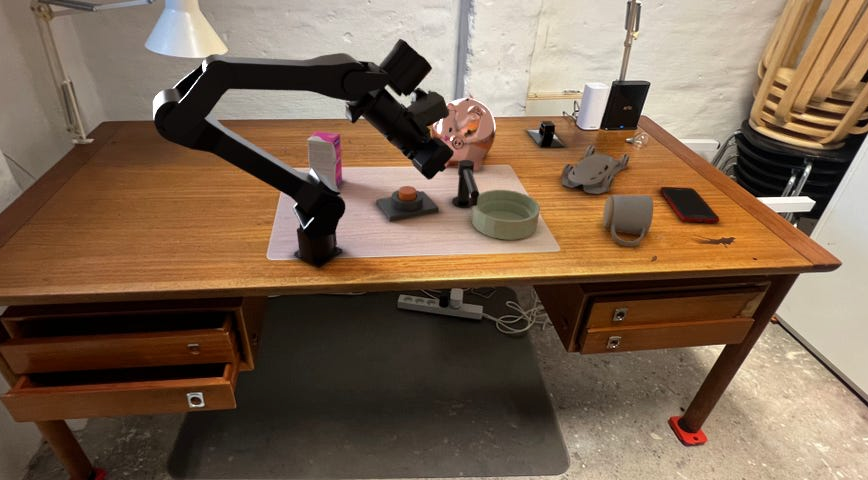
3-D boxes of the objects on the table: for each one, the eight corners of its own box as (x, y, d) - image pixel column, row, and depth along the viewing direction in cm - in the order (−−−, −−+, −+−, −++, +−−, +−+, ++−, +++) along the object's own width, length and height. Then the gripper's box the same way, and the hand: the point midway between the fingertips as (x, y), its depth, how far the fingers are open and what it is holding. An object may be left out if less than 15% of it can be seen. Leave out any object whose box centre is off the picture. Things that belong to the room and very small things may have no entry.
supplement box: (335, 191, 113) (331, 142, 107) (310, 188, 114) (305, 140, 108) (343, 180, 118) (340, 133, 111) (319, 177, 119) (315, 130, 112)
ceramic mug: (599, 218, 107) (608, 185, 102) (639, 222, 106) (650, 189, 101) (605, 246, 98) (615, 211, 94) (649, 250, 97) (661, 216, 93)
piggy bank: (423, 172, 123) (426, 106, 113) (438, 144, 137) (442, 84, 128) (486, 180, 120) (494, 114, 111) (495, 151, 134) (503, 90, 125)
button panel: (389, 221, 103) (389, 209, 102) (376, 204, 109) (376, 191, 108) (438, 212, 107) (439, 199, 105) (422, 195, 113) (423, 183, 111)
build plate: (526, 131, 147) (529, 115, 145) (550, 131, 148) (553, 115, 145) (540, 148, 137) (543, 131, 134) (565, 147, 138) (569, 130, 135)
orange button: (402, 202, 105) (402, 195, 104) (396, 195, 107) (396, 187, 106) (418, 199, 106) (418, 192, 105) (411, 192, 109) (411, 184, 108)
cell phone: (682, 222, 106) (683, 218, 106) (658, 190, 118) (659, 186, 118) (719, 224, 106) (721, 219, 105) (691, 191, 118) (693, 187, 117)
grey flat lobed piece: (629, 166, 129) (635, 147, 126) (599, 202, 113) (604, 182, 110) (587, 155, 134) (591, 137, 131) (551, 188, 118) (556, 168, 115)
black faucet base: (466, 210, 108) (469, 182, 104) (447, 204, 110) (449, 176, 106) (477, 202, 111) (480, 174, 108) (458, 195, 113) (461, 168, 110)
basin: (519, 249, 96) (522, 229, 94) (459, 227, 102) (461, 208, 100) (546, 221, 105) (550, 201, 103) (489, 202, 111) (492, 184, 109)
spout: (456, 174, 108) (457, 159, 106) (471, 174, 109) (472, 159, 107) (465, 206, 97) (467, 190, 95) (482, 206, 97) (484, 190, 95)
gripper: (447, 95, 76) (500, 155, 86) (399, 64, 89) (450, 119, 100) (397, 152, 78) (455, 204, 88) (358, 113, 91) (412, 162, 102)
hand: (443, 169), depth 94 cm, fingers closed
